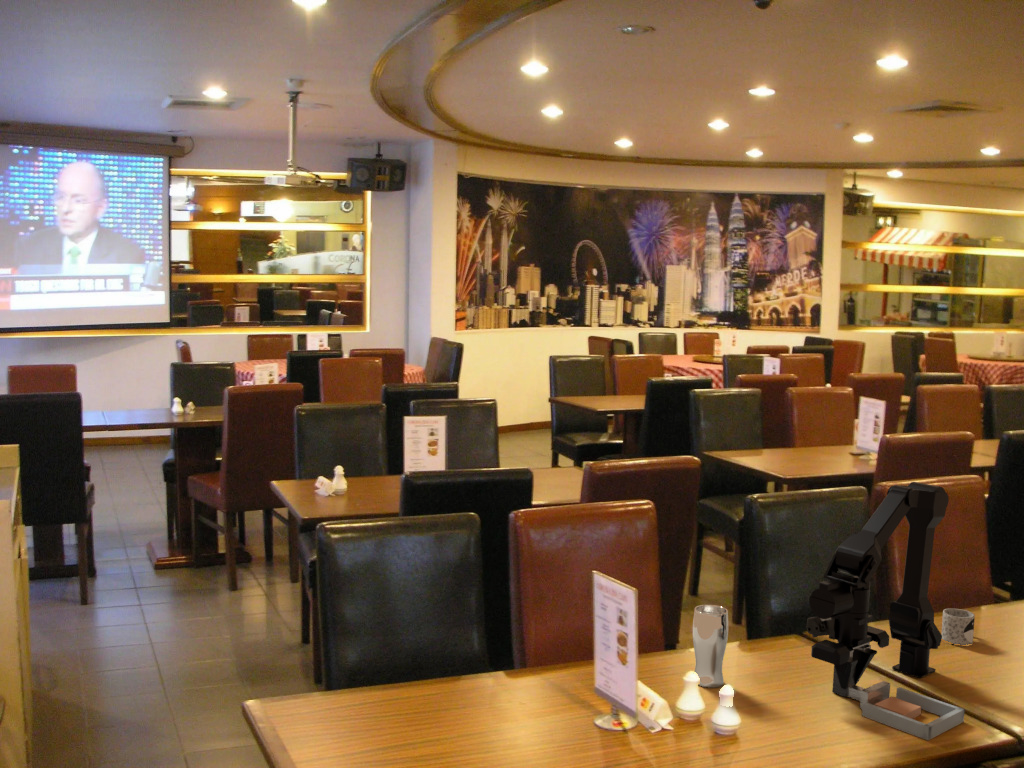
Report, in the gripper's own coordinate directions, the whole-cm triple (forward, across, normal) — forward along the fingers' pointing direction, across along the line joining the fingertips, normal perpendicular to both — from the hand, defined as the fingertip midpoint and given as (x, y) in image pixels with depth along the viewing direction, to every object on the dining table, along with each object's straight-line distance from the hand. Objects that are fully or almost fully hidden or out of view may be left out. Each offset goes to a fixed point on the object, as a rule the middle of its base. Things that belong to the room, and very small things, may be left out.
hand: (848, 686), depth 202 cm
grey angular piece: (+2, 0, +2) cm, 3 cm away
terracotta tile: (+2, 0, +10) cm, 11 cm away
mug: (+2, -50, -3) cm, 50 cm away
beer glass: (+2, +17, -21) cm, 27 cm away
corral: (+2, 0, +14) cm, 14 cm away
